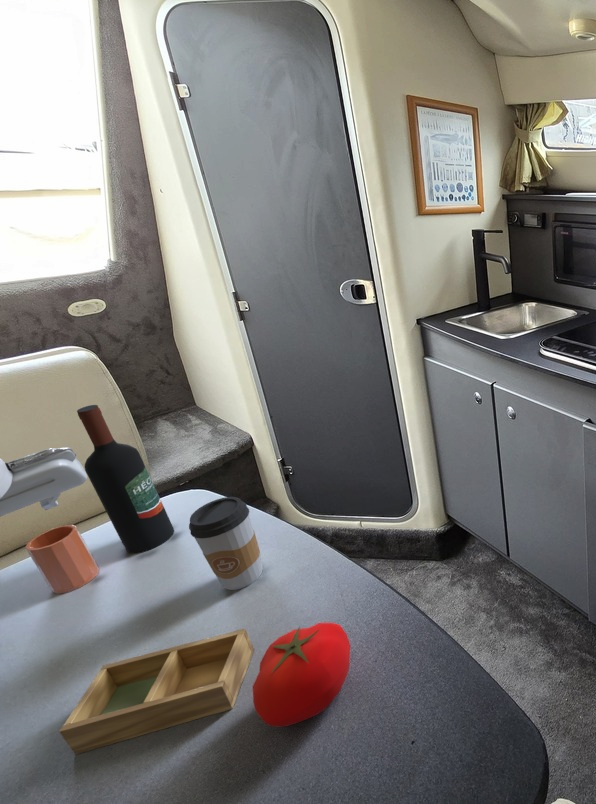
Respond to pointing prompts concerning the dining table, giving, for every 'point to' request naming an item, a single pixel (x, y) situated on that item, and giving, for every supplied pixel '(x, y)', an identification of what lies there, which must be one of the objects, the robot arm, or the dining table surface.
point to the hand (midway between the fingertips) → (6, 522)
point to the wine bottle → (124, 487)
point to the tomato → (301, 674)
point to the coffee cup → (228, 541)
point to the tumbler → (63, 558)
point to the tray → (159, 691)
